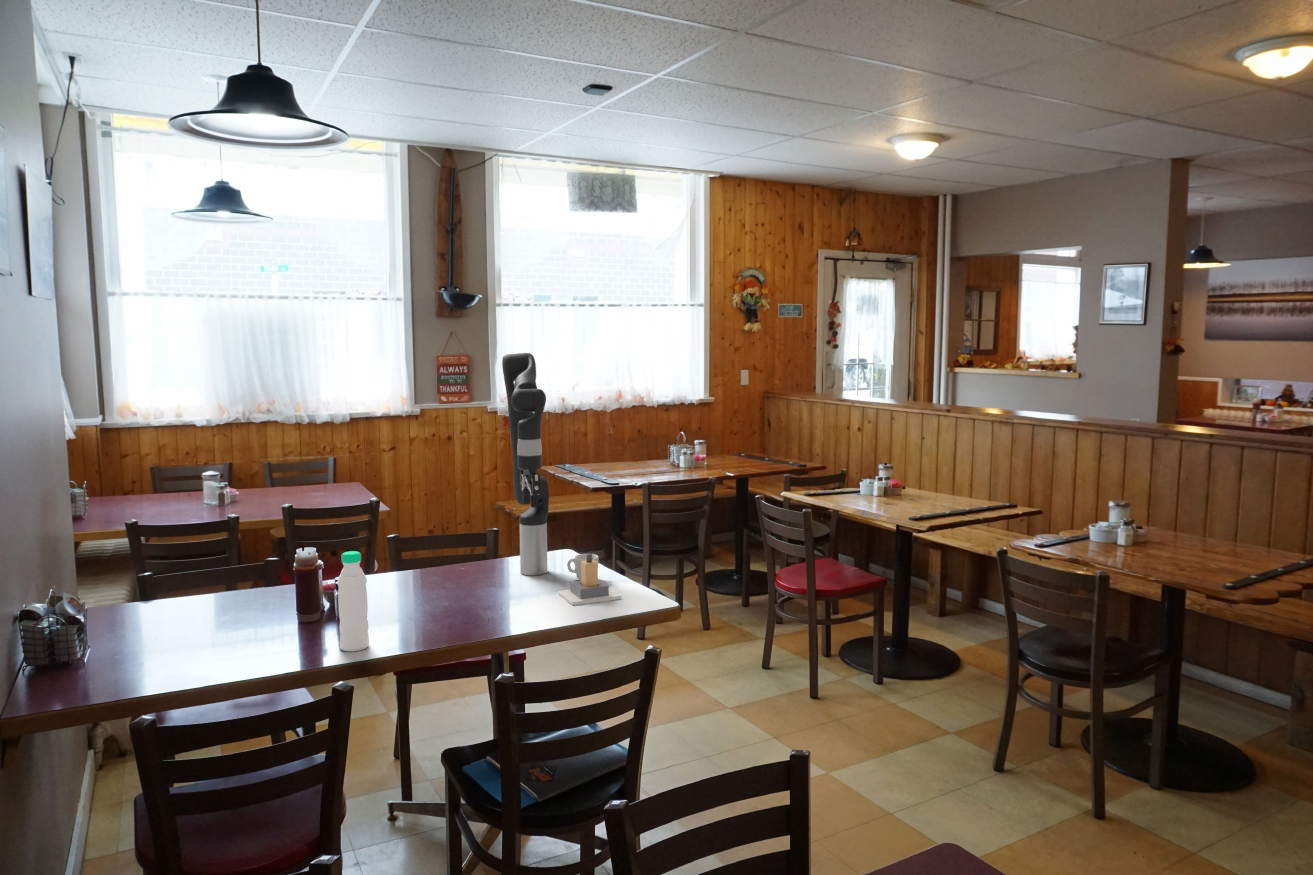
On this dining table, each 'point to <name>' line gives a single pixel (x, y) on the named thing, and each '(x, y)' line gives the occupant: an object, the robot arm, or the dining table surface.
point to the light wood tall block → (589, 572)
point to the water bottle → (352, 604)
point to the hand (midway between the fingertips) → (530, 504)
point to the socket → (588, 593)
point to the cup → (577, 563)
